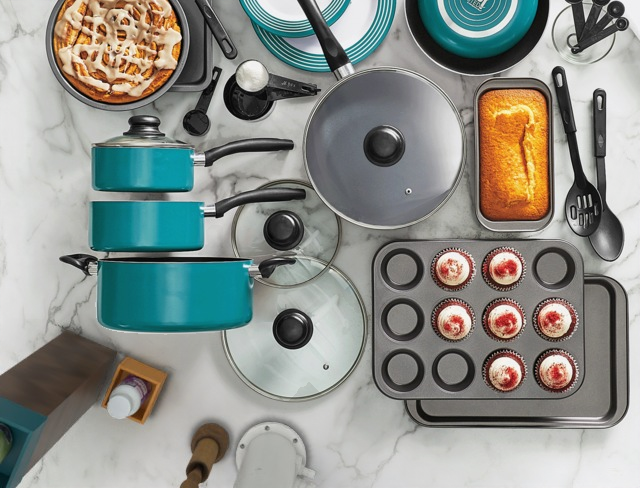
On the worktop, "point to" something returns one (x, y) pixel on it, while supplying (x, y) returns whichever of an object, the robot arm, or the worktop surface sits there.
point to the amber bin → (144, 372)
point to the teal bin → (19, 440)
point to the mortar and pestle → (205, 453)
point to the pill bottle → (128, 396)
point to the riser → (58, 384)
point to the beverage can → (5, 441)
